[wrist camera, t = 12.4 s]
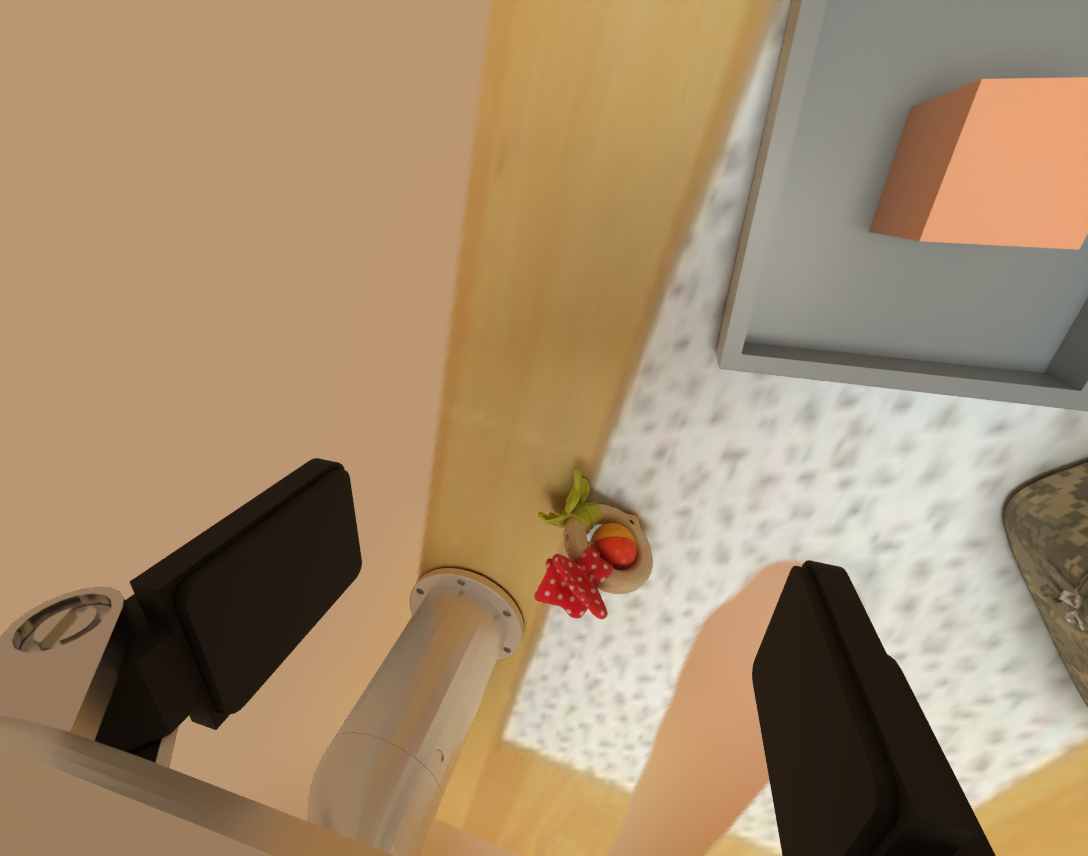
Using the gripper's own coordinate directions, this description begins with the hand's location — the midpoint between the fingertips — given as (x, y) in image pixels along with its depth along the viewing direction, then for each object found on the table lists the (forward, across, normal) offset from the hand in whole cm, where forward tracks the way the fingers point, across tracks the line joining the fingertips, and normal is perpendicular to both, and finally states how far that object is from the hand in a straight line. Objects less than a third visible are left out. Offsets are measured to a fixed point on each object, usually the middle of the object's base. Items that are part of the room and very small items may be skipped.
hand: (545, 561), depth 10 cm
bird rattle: (+25, 0, +15) cm, 29 cm away
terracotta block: (+22, -14, -10) cm, 28 cm away
